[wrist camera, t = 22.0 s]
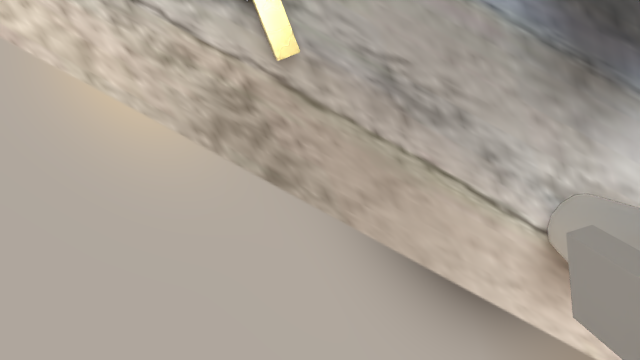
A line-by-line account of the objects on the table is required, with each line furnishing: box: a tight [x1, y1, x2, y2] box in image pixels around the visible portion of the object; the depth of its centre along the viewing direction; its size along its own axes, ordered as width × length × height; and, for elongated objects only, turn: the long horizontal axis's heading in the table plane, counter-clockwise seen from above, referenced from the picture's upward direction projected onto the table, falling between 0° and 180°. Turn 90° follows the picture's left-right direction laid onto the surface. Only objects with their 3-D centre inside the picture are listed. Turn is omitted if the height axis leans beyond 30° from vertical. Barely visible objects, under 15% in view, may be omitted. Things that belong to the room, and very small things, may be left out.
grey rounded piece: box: [547, 194, 640, 263], centre depth 40 cm, size 10×9×13 cm
